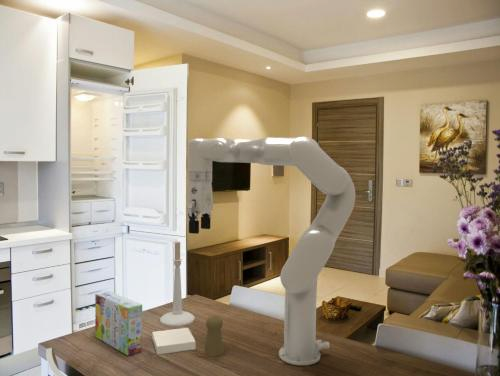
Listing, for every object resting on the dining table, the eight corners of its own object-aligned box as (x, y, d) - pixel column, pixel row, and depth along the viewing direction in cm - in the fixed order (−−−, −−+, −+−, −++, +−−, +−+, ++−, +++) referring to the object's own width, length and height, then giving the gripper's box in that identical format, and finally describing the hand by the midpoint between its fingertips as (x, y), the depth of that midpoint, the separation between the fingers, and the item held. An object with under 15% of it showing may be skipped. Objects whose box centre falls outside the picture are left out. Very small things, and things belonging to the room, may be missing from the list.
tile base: (188, 334, 145) (188, 327, 145) (195, 349, 133) (195, 341, 133) (152, 339, 141) (152, 331, 141) (157, 354, 129) (157, 346, 129)
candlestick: (199, 315, 163) (199, 238, 162) (187, 327, 151) (187, 244, 149) (168, 312, 166) (168, 237, 165) (154, 324, 154) (153, 242, 152)
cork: (220, 357, 128) (221, 322, 127) (201, 355, 129) (202, 320, 128) (226, 349, 134) (226, 315, 133) (207, 347, 135) (207, 313, 134)
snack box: (143, 351, 132) (143, 303, 131) (127, 357, 128) (127, 308, 127) (109, 332, 146) (109, 289, 145) (94, 337, 142) (93, 293, 141)
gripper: (200, 178, 125) (200, 235, 126) (220, 177, 142) (220, 227, 143) (177, 178, 127) (177, 234, 128) (199, 176, 144) (199, 226, 145)
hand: (199, 230), depth 135 cm, fingers open, 9 cm apart
